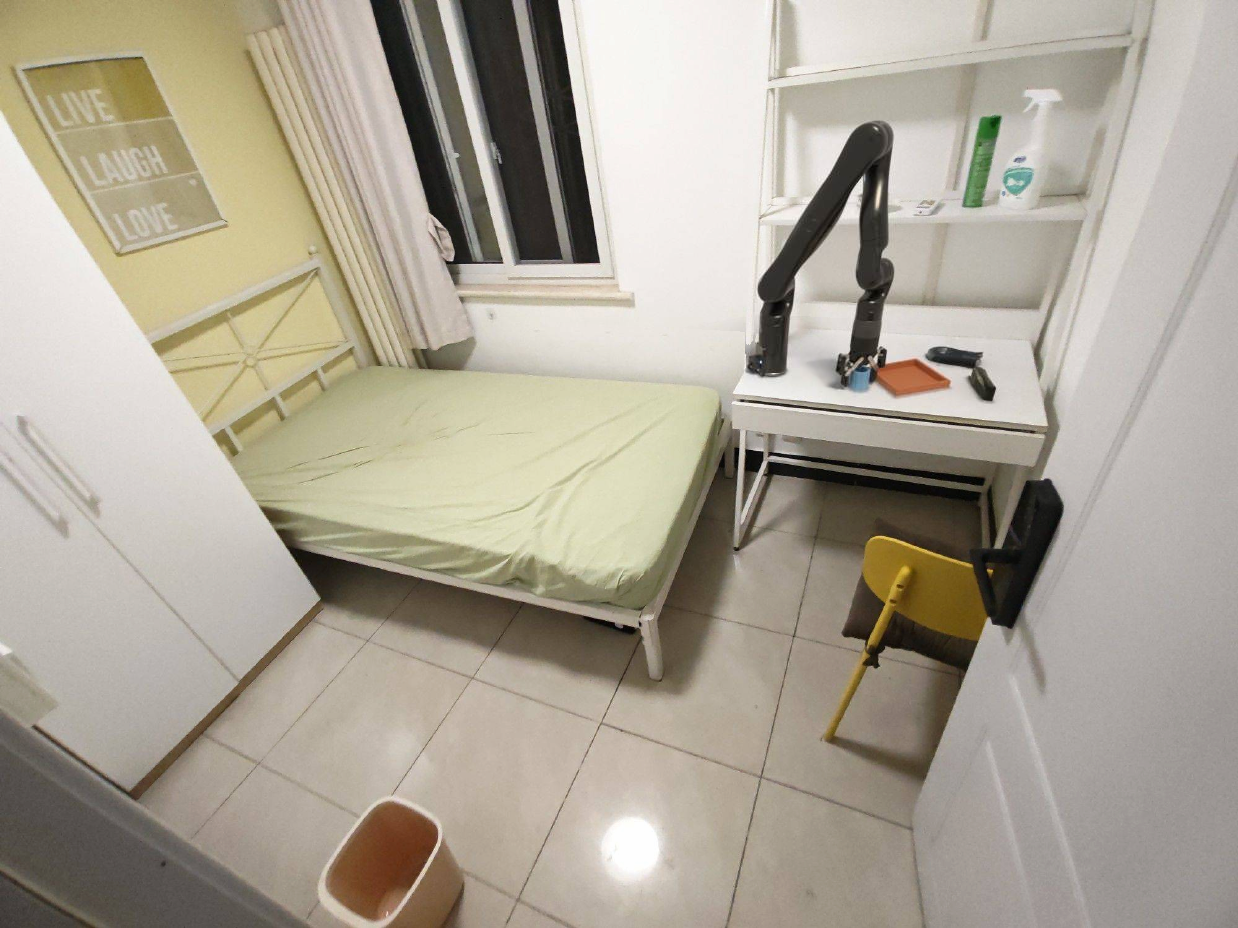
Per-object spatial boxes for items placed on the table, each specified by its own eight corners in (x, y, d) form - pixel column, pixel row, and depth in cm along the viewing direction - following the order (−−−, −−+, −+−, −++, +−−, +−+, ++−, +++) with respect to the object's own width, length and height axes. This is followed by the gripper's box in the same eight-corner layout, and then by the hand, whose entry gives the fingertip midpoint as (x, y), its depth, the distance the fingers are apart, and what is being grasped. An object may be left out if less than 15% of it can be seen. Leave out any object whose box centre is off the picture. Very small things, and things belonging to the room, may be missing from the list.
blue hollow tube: (854, 392, 167) (857, 374, 163) (845, 385, 171) (848, 367, 167) (870, 389, 167) (874, 371, 164) (861, 382, 171) (864, 364, 168)
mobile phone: (999, 387, 152) (980, 362, 163) (987, 387, 152) (969, 362, 164) (994, 403, 155) (975, 377, 166) (982, 403, 155) (964, 377, 167)
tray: (895, 397, 162) (897, 390, 161) (865, 373, 176) (866, 366, 174) (949, 388, 163) (951, 380, 162) (915, 365, 177) (916, 358, 175)
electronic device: (980, 362, 177) (930, 348, 184) (987, 347, 173) (935, 334, 180) (972, 378, 172) (921, 363, 179) (979, 363, 168) (927, 348, 175)
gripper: (882, 324, 163) (873, 374, 172) (835, 331, 161) (829, 382, 171) (897, 333, 156) (887, 385, 166) (848, 341, 155) (841, 393, 165)
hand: (857, 383), depth 168 cm, fingers open, 8 cm apart
